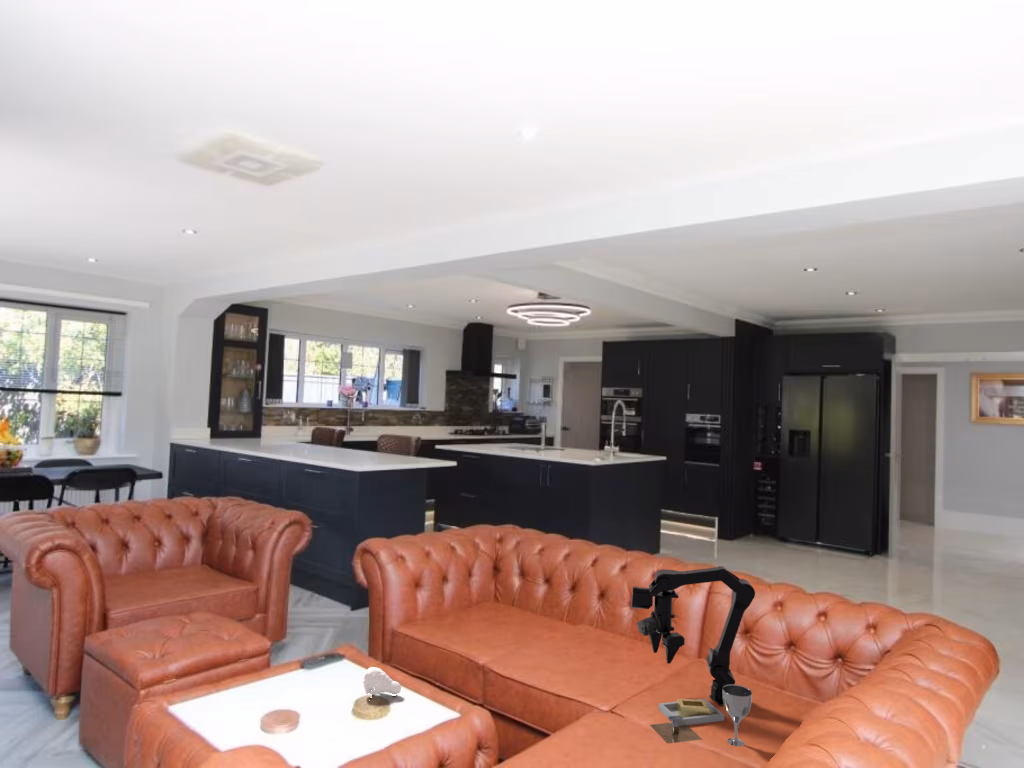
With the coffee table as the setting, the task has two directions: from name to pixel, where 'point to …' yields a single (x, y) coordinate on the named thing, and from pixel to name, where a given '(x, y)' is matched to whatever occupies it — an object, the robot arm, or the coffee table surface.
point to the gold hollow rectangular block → (692, 708)
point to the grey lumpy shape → (379, 682)
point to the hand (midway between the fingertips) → (661, 657)
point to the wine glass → (736, 707)
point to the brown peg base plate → (675, 731)
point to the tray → (671, 710)
